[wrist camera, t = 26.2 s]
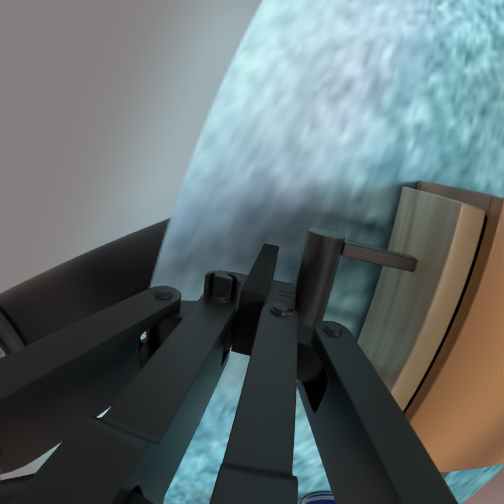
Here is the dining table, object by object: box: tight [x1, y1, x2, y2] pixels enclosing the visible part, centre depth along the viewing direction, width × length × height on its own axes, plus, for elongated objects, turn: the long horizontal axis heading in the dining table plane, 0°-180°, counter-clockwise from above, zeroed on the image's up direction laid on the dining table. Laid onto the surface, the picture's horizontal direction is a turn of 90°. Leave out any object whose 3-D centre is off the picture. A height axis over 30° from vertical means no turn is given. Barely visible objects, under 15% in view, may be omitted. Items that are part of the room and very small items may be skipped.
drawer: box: [295, 187, 486, 414], centre depth 13 cm, size 20×12×8 cm, turn 81°
